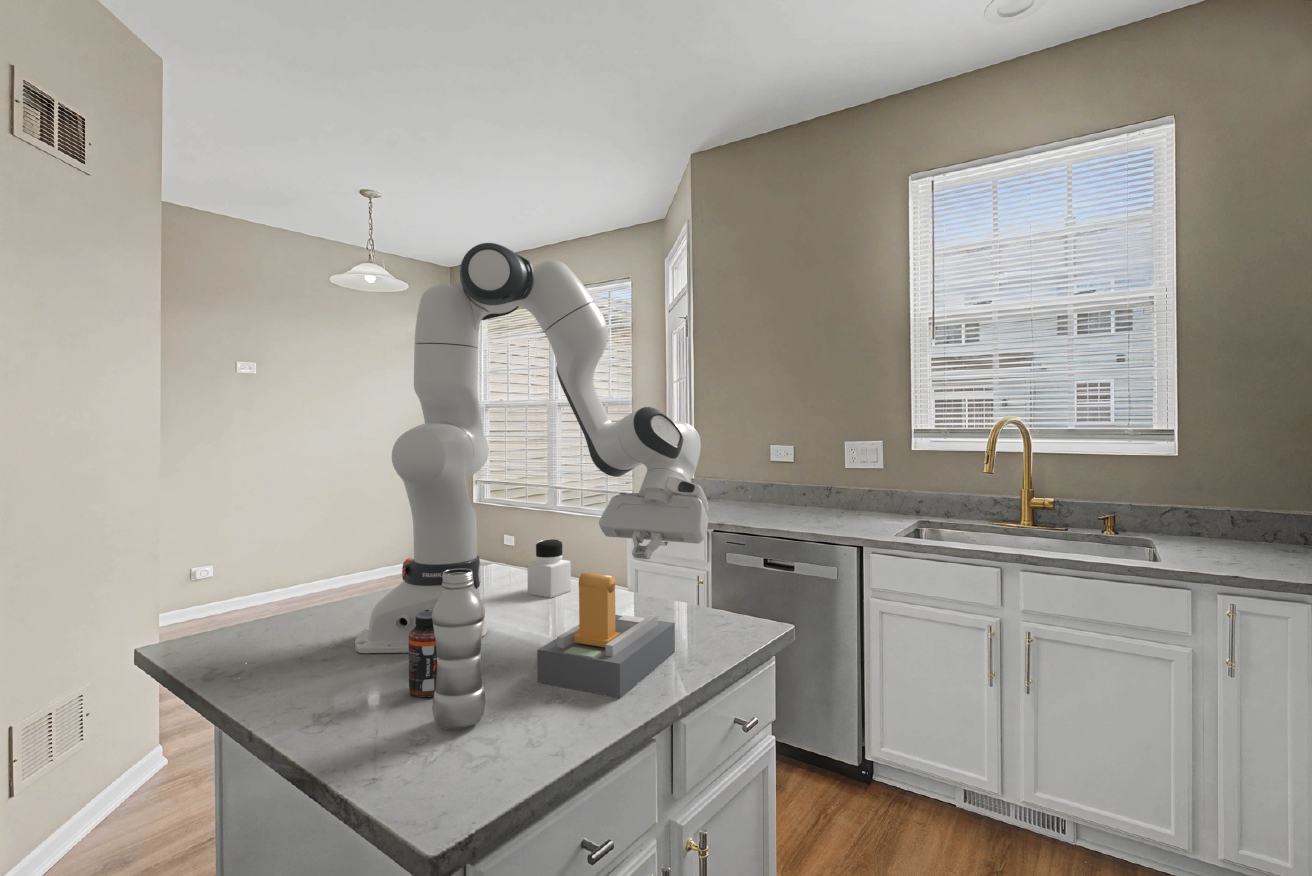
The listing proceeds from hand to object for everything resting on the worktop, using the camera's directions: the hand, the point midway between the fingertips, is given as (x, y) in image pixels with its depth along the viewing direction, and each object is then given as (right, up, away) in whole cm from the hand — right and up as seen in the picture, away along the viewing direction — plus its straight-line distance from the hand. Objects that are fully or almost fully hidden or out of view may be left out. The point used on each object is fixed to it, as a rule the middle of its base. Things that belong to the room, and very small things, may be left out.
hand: (640, 557), depth 114 cm
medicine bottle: (-22, -15, +35) cm, 43 cm away
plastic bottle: (-23, -17, -29) cm, 41 cm away
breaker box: (-5, -16, -10) cm, 19 cm away
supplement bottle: (-30, -16, -19) cm, 39 cm away
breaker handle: (-6, -10, -14) cm, 18 cm away
